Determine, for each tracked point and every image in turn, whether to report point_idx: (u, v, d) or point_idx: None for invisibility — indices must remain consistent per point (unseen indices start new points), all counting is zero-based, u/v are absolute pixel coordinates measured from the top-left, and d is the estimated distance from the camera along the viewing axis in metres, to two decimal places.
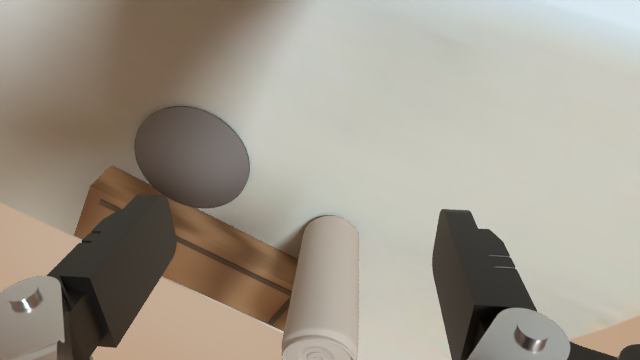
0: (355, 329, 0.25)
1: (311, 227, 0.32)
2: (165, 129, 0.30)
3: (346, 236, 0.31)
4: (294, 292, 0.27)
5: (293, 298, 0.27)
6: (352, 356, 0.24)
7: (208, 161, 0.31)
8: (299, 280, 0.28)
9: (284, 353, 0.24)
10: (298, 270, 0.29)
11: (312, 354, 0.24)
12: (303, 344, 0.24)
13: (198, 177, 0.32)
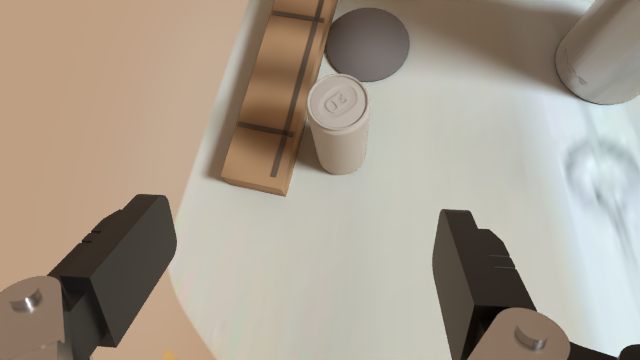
0: (359, 132, 0.30)
1: None
2: (386, 23, 0.44)
3: (365, 151, 0.38)
4: None
5: None
6: (358, 121, 0.29)
7: (373, 52, 0.43)
8: None
9: (336, 75, 0.30)
10: None
11: (342, 95, 0.29)
12: (353, 85, 0.30)
13: (356, 49, 0.43)
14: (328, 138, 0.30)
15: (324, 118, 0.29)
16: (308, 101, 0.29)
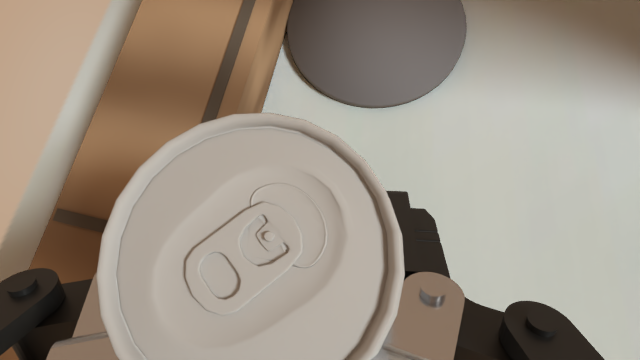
0: None
1: None
2: None
3: None
4: None
5: None
6: None
7: (388, 44, 0.20)
8: None
9: (248, 120, 0.06)
10: None
11: (274, 220, 0.06)
12: (327, 169, 0.06)
13: (351, 37, 0.20)
14: None
15: (173, 347, 0.06)
16: (106, 248, 0.06)
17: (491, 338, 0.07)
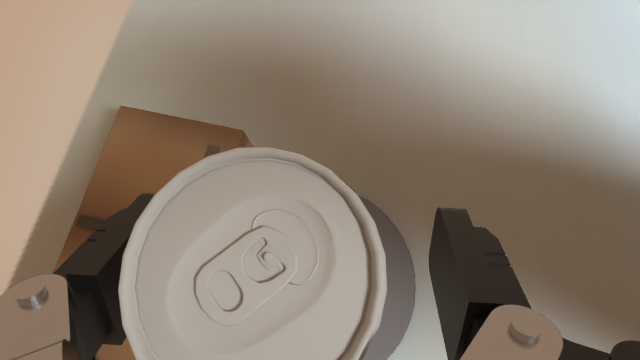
0: None
1: None
2: None
3: None
4: None
5: None
6: None
7: None
8: None
9: (250, 153, 0.07)
10: None
11: (273, 242, 0.07)
12: (318, 197, 0.07)
13: None
14: None
15: (185, 353, 0.07)
16: (126, 266, 0.07)
17: None
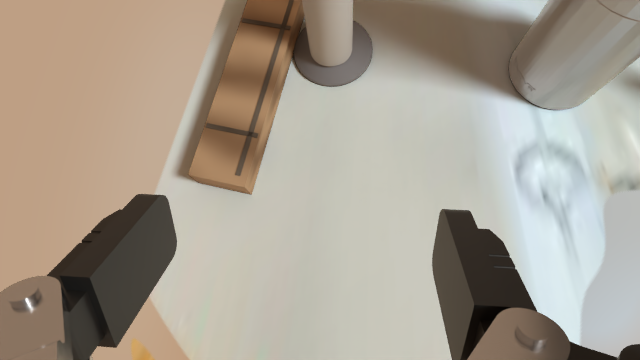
0: (344, 1, 0.35)
1: None
2: None
3: (351, 41, 0.43)
4: None
5: None
6: None
7: None
8: None
9: None
10: None
11: None
12: None
13: None
14: (317, 4, 0.35)
15: None
16: None
17: None
